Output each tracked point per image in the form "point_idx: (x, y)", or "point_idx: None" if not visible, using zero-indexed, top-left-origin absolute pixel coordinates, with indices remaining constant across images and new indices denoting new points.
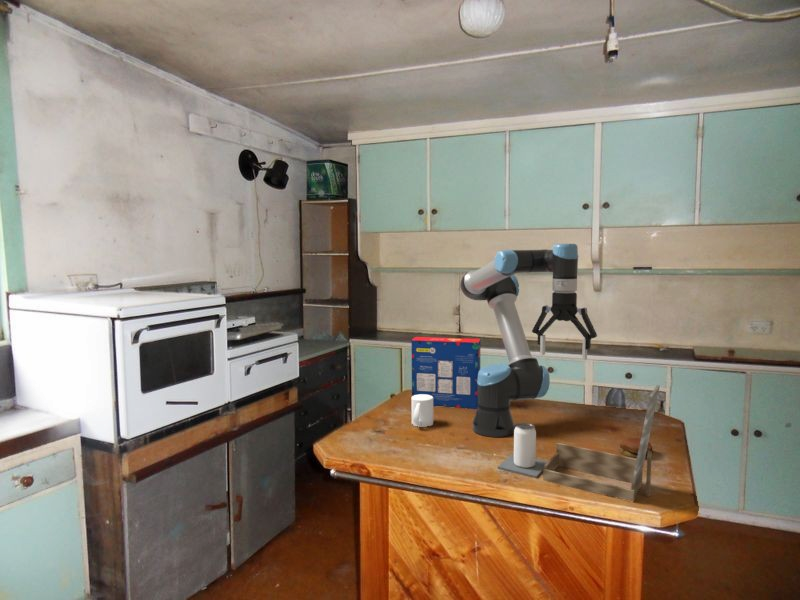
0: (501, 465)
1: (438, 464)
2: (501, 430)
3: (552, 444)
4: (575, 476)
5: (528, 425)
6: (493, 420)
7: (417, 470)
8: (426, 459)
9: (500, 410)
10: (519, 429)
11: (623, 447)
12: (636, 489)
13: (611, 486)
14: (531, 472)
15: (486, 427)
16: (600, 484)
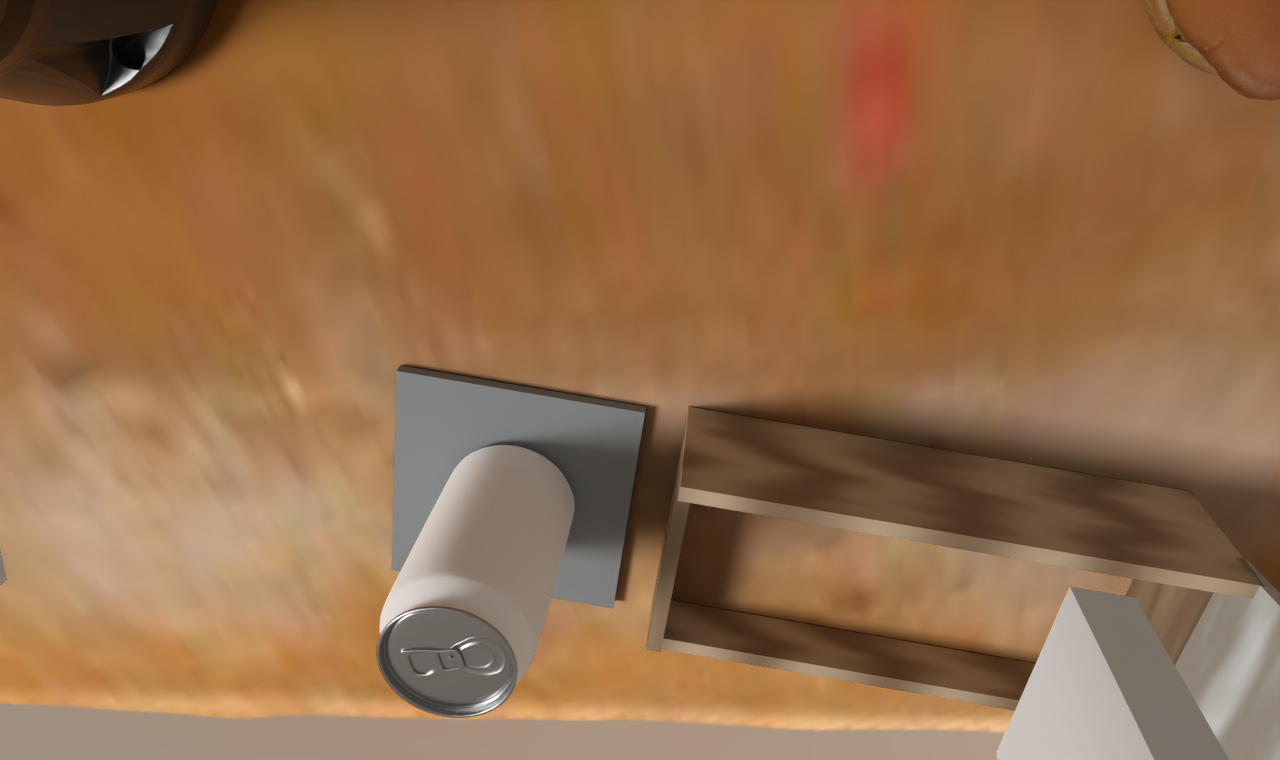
0: (404, 551)
1: (114, 612)
2: (151, 65)
3: (591, 43)
4: (822, 666)
5: (460, 625)
6: (32, 87)
7: (78, 693)
8: (25, 580)
9: (4, 48)
10: (429, 702)
11: (1190, 42)
12: None
13: (1008, 708)
14: (578, 578)
15: (30, 102)
16: (952, 696)
